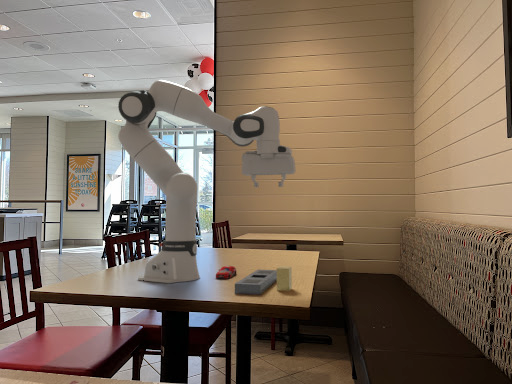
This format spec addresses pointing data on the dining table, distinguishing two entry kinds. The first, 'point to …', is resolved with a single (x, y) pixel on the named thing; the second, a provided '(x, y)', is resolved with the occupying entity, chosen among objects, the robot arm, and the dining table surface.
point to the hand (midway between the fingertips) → (268, 186)
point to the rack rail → (256, 282)
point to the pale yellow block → (284, 279)
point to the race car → (226, 272)
